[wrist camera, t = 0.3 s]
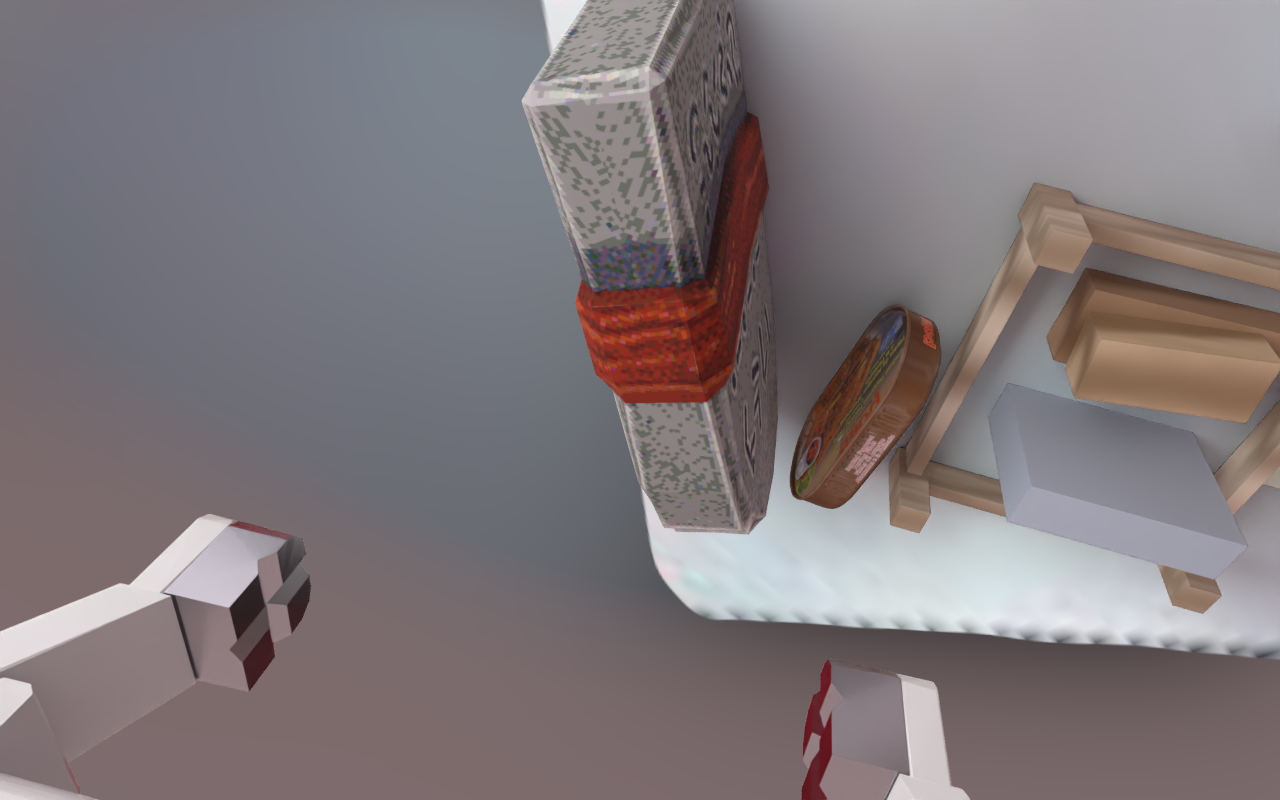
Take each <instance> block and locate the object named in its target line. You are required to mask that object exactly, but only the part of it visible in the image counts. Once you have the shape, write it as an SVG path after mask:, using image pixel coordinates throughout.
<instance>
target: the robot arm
mask: <svg viewBox="0 0 1280 800" xmlns="http://www.w3.org/2000/svg"><path fill="white" fill-rule="evenodd" d="M305 555H306V552H305V546H304V542H303V539H302V538H300V537H297V536H294V535H291V534H287V533H283V532H279V531H275V530H271V529H268V528H264V527H260V526H256V525H252V524H249V523H245V522H240V521H235V520H231V519H228V518H224V517H220V516H216V515H212V514H208V515H205V516H203V517H200V518H198V519H197V520H196V521H195V522H194V523H193V524H192V525H191V526H190V527H189V528H188V529H187V530H186V531H184V532H183V533H182V534H181V535H180V536H179V537H178V538H177V539H176V540H175V541H174V542H173V543H172V544H171V545H170V546H169V547H168V548H167V549H166V550H165V551H164V552H163V553H162V554H161V555H160V556H159V557H158V558H157V559H156V560H155V561H154V562H153V563H152V564H150V566H148V567H147V568H146V569H145V570H144V571H143V572H142V573H141V574H140V575H139V576H138V577H137V578H136V579H135V580H134V581H133V582H132V583H131V584H130V585H126V584H121V583H120V584H117V585H115V586H112V587H110V588H107V589H105V590H102V591H100V592H97V593H95V594H92V595H90V596H87V597H85V598H82V599H80V600H77V601H75V602H72V603H70V604H68V605H65V606H62V607H60V608H57V609H55V610H52V611H50V612H48V613H45V614H43V615H40V616H38V617H35V618H33V619H30V620H28V621H25V622H23V623H20V624H18V625H15V626H13V627H10V628H8V629H5V630H3V631H0V800H99V799H95V798H91V797H88V796H84V795H80V787H79V785H78V783H77V781H76V779H75V777H74V774H73V772H72V770H71V768H70V766H69V764H68V762H70V761H72V760H73V759H75V758H76V757H78V756H80V755H81V754H83V753H84V752H86V751H88V750H89V749H91V748H93V747H94V746H96V745H97V744H99V743H101V742H102V741H104V740H105V739H107V738H109V737H110V736H112V735H113V734H115V733H117V732H118V731H120V730H122V729H123V728H125V727H126V726H128V725H130V724H131V723H133V722H134V721H136V720H138V719H139V718H141V717H143V716H144V715H146V714H147V713H149V712H150V711H152V710H154V709H155V708H157V707H159V706H160V705H162V704H163V703H165V702H167V701H168V700H170V699H172V698H173V697H175V696H176V695H178V694H180V693H181V692H183V691H184V690H186V689H188V688H189V687H191V686H193V685H194V684H195V683H196V680H198V681H203V682H207V683H212V684H216V685H221V686H225V687H229V688H234V689H239V690H243V691H248V692H249V691H250V690H251V689H252V687H253V686H254V685H255V683H256V682H257V681H258V679H259V678H260V677H261V675H262V674H263V673H264V671H265V670H266V669H267V667H268V666H269V664H270V663H271V662H272V660H273V659H274V658H275V650H274V643H275V642H277V641H279V640H281V639H283V638H285V637H287V636H289V635H291V634H292V633H293V632H294V630H295V629H296V627H297V626H298V624H299V623H300V622H301V620H302V618H303V616H304V613H305V611H306V608H307V606H308V603H309V600H310V592H311V583H310V576H309V574H308V573H307V572H306V571H305V570H304V568H303V567H302V566H301V565H300V564H299V563H300V562H301V560H302V559H303V558H304V557H305ZM802 757H803V758H802V760H803V761H804V763H805V765H806V766H807V768H808V772H807V775H806V778H805V781H804V783H803V786H802V791H801V792H802V793H801V800H970V798H969V797H968V796H967V795H966V793H965V792H964V790H963V789H960V788H956V787H953V786H952V784H951V778H950V771H949V764H948V757H947V750H946V744H945V738H944V730H943V723H942V716H941V710H940V703H939V696H938V689H937V687H936V686H935V684H934V682H931V681H926V680H922V679H918V678H914V677H909V676H905V675H900V674H897V675H896V674H895V673H893V672H889V671H884V670H880V669H875V668H870V667H866V666H861V665H857V664H852V663H847V662H843V661H839V660H834V659H829V658H828V660H827V661H826V662H825V664H824V666H823V669H822V672H821V674H820V691H819V692H817V693H815V694H813V697H812V700H811V703H810V706H809V709H808V714H807V718H806V723H805V729H804V738H803V756H802Z"/></svg>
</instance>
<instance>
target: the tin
mask: <svg viewBox="0 0 1280 800" xmlns="http://www.w3.org/2000/svg"><path fill="white" fill-rule="evenodd" d="M940 360H941V348H940V339H939V333H938V329H937V327H936V325H935V323H934V322H933V321H931V320H929V319H927V318H925V317H923V316H921V315H919V314H916V313H914V312H911V311H909V310H907V309H906V308H905V307H903V306H902V305H892V306H890V307H888V308H886V309H885V310H883V311H882V312H881V313H880V314H879V315H878V316H877V317H876V318H875V319H874V320H873V322H872V323H871V324H870V325H869V326H868V328H867V329H866V331H865V332H864V334H863V335H862V337H861V338H860V340H859V341H858V342H857V344H856V345H855V347H854V348H853V350H852V351H851V353H850V354H849V356H848V357H847V359H846V360H845V362H844V363H843V364H842V366H841V367H840V369H839V370H838V372H837V373H836V375H835V376H834V378H833V379H832V380H831V382H830V383H829V385H828V386H827V388H826V389H825V391H824V392H823V394H822V395H821V396H820V398H819V399H818V401H817V402H816V404H815V405H814V407H813V409H812V410H811V412H810V414H809V416H808V418H807V420H806V422H805V424H804V426H803V429H802V431H801V433H800V436H799V439H798V442H797V445H796V448H795V452H794V456H793V460H792V466H791V472H790V488H791V492H792V495H793V496H794V497H795V498H796V499H799V500H805V501H808V502H810V503H813V504H816V505H818V506H821V507H824V508H829V509H834V508H838V507H840V506H842V505H843V504H845V503H846V502H847V501H848V500H849V499H850V498H851V497H852V496H853V495H854V494H855V493H856V492H857V490H858V489H859V488H860V487H861V485H862V484H863V483H864V482H865V481H866V479H867V478H868V477H869V476H870V475H871V473H872V472H873V471H874V470H875V468H876V467H877V466H878V465H879V464H880V462H881V461H882V460H883V458H884V457H885V456H886V455H887V454H888V452H889V451H890V450H891V448H892V447H893V446H894V445H895V444H896V442H897V441H898V440H899V438H900V437H901V436H902V435H903V433H904V432H905V431H906V430H907V428H908V427H909V426H910V425H911V423H912V422H913V421H914V420H915V418H916V417H917V415H918V414H919V412H920V411H921V409H922V407H923V406H924V404H925V402H926V400H927V398H928V396H929V394H930V392H931V390H932V387H933V385H934V382H935V380H936V377H937V373H938V370H939V365H940Z"/></svg>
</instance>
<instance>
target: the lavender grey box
mask: <svg viewBox="0 0 1280 800" xmlns="http://www.w3.org/2000/svg"><path fill="white" fill-rule="evenodd" d="M988 419H989V424H990V430H991V435H992V441H993V446H994V452H995V457H996V463H997V468H998V474H999V479H1000V485H1001V490H1002V496H1003V501H1004V507H1005V512H1006V518H1007V522H1011V523H1014V524H1018V525H1022V526H1025V527H1029V528H1032V529H1036V530H1039V531H1043V532H1047V533H1050V534H1054V535H1057V536H1061V537H1064V538H1068V539H1071V540H1075V541H1079V542H1082V543H1086V544H1089V545H1093V546H1096V547H1100V548H1104V549H1107V550H1111V551H1114V552H1118V553H1121V554H1125V555H1129V556H1132V557H1136V558H1139V559H1143V560H1146V561H1150V562H1153V563H1157V564H1161V565H1164V566H1168V567H1171V568H1175V569H1178V570H1182V571H1186V572H1189V573H1193V574H1196V575H1200V576H1203V577H1207V578H1210V579H1214V580H1215V579H1216V578H1217V577H1218V576H1219V575H1220V574H1221V573H1222V572H1223V571H1224V570H1225V569H1226V568H1227V567H1228V566H1229V565H1230V564H1231V563H1232V562H1233V561H1234V560H1235V559H1236V558H1237V557H1238V556H1239V555H1240V554H1241V553H1242V552H1243V551H1244V550H1245V549H1246V548H1247V547H1248V545H1247V543H1246V541H1245V539H1244V537H1243V535H1242V533H1241V531H1240V529H1239V527H1238V525H1237V522H1236V520H1235V518H1234V516H1233V514H1232V512H1231V510H1230V508H1229V506H1228V504H1227V502H1226V500H1225V498H1224V496H1223V494H1222V492H1221V490H1220V488H1219V486H1218V484H1217V482H1216V479H1215V477H1214V475H1213V473H1212V471H1211V469H1210V467H1209V465H1208V463H1207V461H1206V459H1205V457H1204V455H1203V453H1202V451H1201V449H1200V447H1199V445H1198V443H1197V441H1196V439H1195V436H1194V434H1193V432H1189V431H1185V430H1181V429H1178V428H1174V427H1170V426H1167V425H1163V424H1159V423H1155V422H1152V421H1148V420H1144V419H1141V418H1137V417H1133V416H1129V415H1126V414H1122V413H1118V412H1114V411H1111V410H1107V409H1103V408H1100V407H1096V406H1092V405H1088V404H1085V403H1081V402H1077V401H1074V400H1070V399H1066V398H1062V397H1059V396H1055V395H1051V394H1047V393H1044V392H1040V391H1036V390H1033V389H1029V388H1025V387H1021V386H1018V385H1014V384H1010V383H1008V384H1007V386H1006V388H1005V389H1004V391H1003V393H1002V394H1001V396H1000V398H999V399H998V401H997V403H996V405H995V406H994V408H993V410H992V411H991V413H990V415H989V416H988Z"/></svg>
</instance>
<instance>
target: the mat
mask: <svg viewBox="0 0 1280 800" xmlns="http://www.w3.org/2000/svg"><path fill="white" fill-rule="evenodd" d="M1263 484H1264V485H1268V486H1271V487H1275V488H1279V489H1280V466H1279V468H1278V469H1277V470H1276V471H1275V472H1274V473H1273V474H1272V475H1271V476H1270V477H1269V478H1268V479H1267V480H1266V481H1265V482H1264V483H1263Z"/></svg>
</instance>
